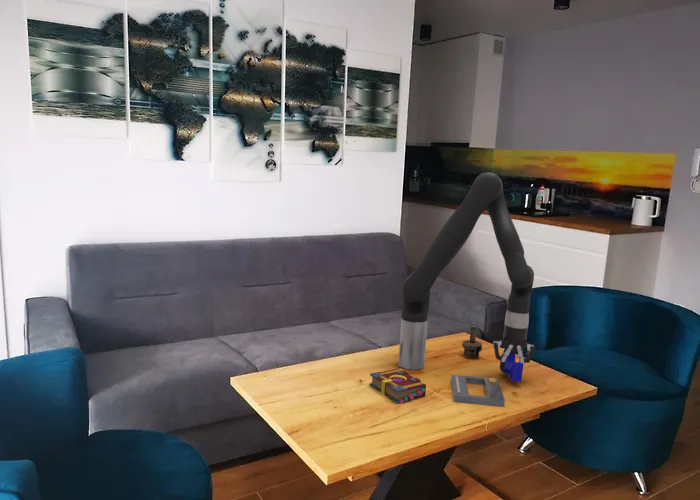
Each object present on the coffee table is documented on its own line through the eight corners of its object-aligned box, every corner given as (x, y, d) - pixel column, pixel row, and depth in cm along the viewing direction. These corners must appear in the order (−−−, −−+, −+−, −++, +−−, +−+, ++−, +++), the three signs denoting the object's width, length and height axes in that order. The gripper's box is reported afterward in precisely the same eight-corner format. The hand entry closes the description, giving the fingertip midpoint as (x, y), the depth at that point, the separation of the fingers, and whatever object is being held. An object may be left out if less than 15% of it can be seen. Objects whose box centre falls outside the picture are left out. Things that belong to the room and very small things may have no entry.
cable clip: (499, 366, 193) (501, 350, 192) (512, 367, 193) (514, 351, 192) (507, 380, 181) (509, 363, 180) (521, 381, 181) (523, 364, 180)
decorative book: (397, 380, 184) (398, 366, 183) (428, 399, 170) (429, 383, 169) (369, 386, 178) (370, 371, 177) (399, 406, 164) (400, 390, 164)
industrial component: (485, 357, 208) (488, 327, 206) (473, 361, 204) (475, 330, 202) (466, 350, 215) (468, 321, 213) (453, 353, 211) (456, 323, 209)
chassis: (454, 401, 168) (454, 393, 168) (451, 380, 185) (451, 372, 185) (504, 406, 167) (504, 398, 166) (496, 384, 183) (497, 376, 183)
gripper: (495, 325, 181) (490, 374, 184) (540, 329, 179) (534, 379, 182) (493, 318, 188) (487, 366, 191) (536, 323, 186) (530, 370, 189)
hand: (510, 372), depth 186 cm, fingers closed on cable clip, 4 cm apart
